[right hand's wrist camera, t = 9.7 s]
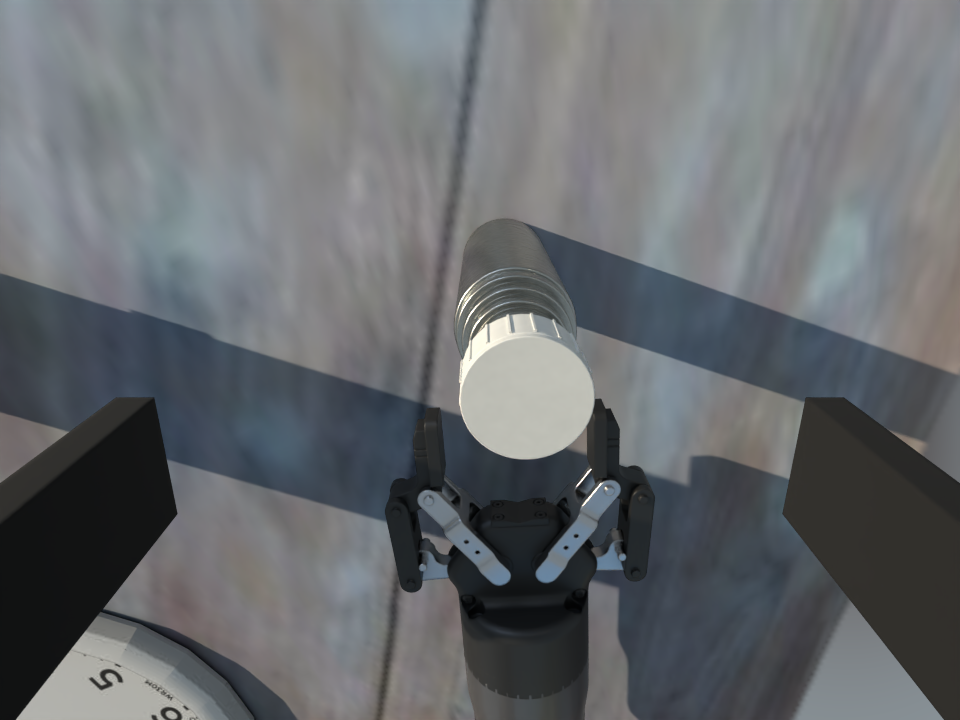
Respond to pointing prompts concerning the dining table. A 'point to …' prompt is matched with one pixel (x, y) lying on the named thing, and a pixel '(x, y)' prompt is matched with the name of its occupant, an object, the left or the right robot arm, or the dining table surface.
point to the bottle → (507, 281)
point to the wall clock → (133, 680)
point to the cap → (525, 387)
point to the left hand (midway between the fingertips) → (513, 409)
